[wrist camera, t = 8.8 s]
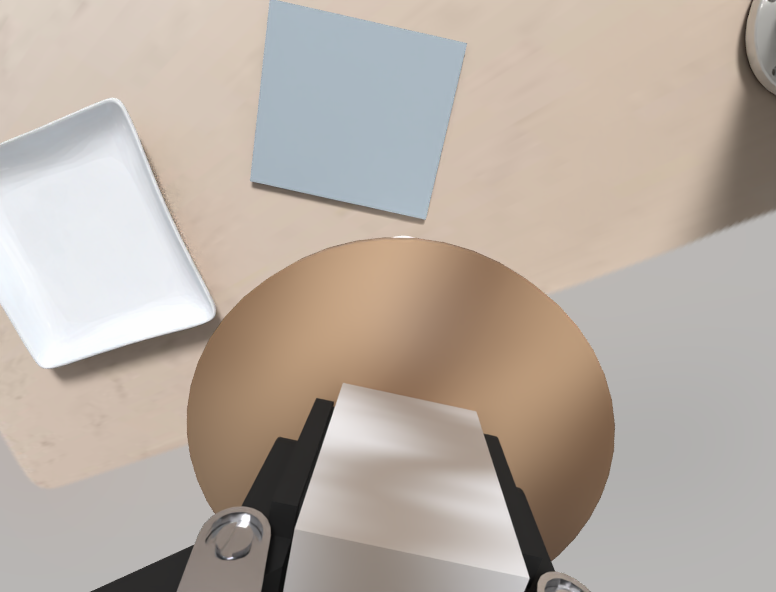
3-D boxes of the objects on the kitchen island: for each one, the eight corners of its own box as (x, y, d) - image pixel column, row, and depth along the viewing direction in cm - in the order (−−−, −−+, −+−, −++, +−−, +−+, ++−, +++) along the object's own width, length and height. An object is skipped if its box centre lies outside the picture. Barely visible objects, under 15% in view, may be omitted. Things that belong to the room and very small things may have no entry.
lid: (664, 290, 11) (951, 400, 5) (526, 613, 14) (606, 894, 9) (221, 193, 11) (10, 195, 5) (190, 543, 14) (43, 782, 9)
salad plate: (65, 360, 43) (37, 375, 40) (-42, 173, 38) (-85, 171, 35) (234, 309, 40) (219, 320, 37) (143, 100, 35) (116, 91, 32)
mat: (466, 45, 33) (467, 43, 32) (425, 219, 37) (425, 219, 36) (271, 1, 32) (269, -2, 32) (252, 181, 36) (250, 181, 36)
